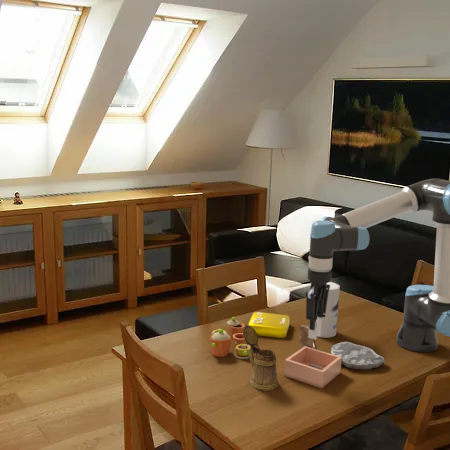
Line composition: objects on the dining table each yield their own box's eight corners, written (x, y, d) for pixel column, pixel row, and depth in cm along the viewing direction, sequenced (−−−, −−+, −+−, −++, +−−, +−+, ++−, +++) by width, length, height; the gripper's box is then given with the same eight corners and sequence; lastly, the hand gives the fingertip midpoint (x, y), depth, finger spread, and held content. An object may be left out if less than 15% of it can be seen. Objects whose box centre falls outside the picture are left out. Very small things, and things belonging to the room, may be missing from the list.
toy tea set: (254, 361, 204) (255, 336, 202) (210, 361, 203) (211, 336, 201) (246, 332, 230) (247, 309, 228) (207, 332, 228) (207, 309, 226)
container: (338, 338, 225) (341, 289, 221) (312, 337, 226) (315, 288, 221) (333, 328, 235) (337, 281, 231) (309, 327, 235) (312, 280, 231)
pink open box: (340, 373, 197) (341, 357, 195) (322, 389, 186) (323, 372, 184) (303, 361, 205) (304, 346, 203) (283, 376, 193) (284, 359, 192)
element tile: (285, 339, 224) (286, 327, 223) (247, 334, 227) (247, 323, 226) (289, 325, 238) (290, 314, 237) (253, 321, 241) (254, 310, 240)
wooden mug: (252, 370, 197) (254, 321, 193) (283, 385, 188) (286, 333, 184) (234, 379, 190) (236, 328, 186) (266, 394, 181) (269, 341, 177)
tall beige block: (312, 359, 207) (314, 327, 204) (309, 360, 205) (311, 329, 203) (300, 355, 210) (302, 324, 207) (298, 357, 208) (300, 326, 205)
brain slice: (317, 358, 208) (318, 350, 208) (347, 346, 219) (348, 339, 218) (362, 379, 194) (363, 371, 193) (391, 365, 205) (392, 357, 204)
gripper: (319, 261, 195) (314, 327, 200) (298, 271, 183) (293, 340, 188) (340, 266, 191) (334, 332, 196) (319, 276, 179) (314, 347, 184)
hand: (314, 336), depth 192 cm, fingers open, 2 cm apart
